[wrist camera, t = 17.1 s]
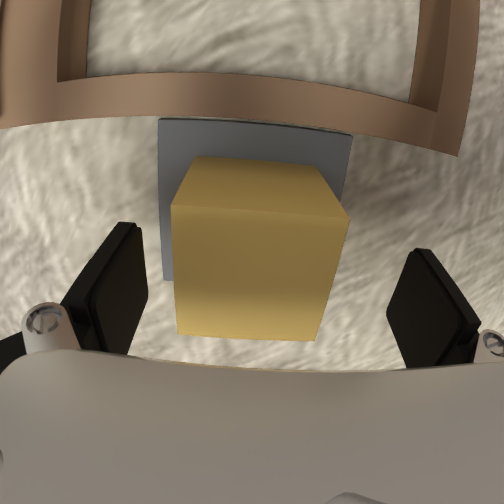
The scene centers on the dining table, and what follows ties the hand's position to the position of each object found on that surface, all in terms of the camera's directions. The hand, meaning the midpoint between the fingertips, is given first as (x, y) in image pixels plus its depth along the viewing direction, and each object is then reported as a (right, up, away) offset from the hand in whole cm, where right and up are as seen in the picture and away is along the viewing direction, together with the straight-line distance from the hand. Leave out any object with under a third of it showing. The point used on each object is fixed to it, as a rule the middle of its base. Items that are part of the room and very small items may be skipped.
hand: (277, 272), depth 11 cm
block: (-1, +2, +4) cm, 4 cm away
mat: (-1, +3, +4) cm, 5 cm away
